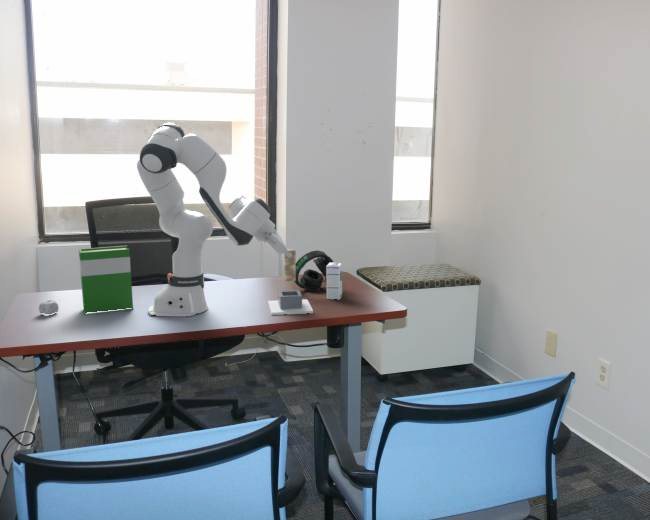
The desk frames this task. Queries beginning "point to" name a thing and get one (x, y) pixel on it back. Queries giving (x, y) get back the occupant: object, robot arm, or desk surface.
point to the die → (48, 307)
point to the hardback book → (106, 278)
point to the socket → (289, 304)
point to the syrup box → (334, 280)
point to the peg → (290, 266)
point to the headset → (311, 277)
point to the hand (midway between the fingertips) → (290, 254)
